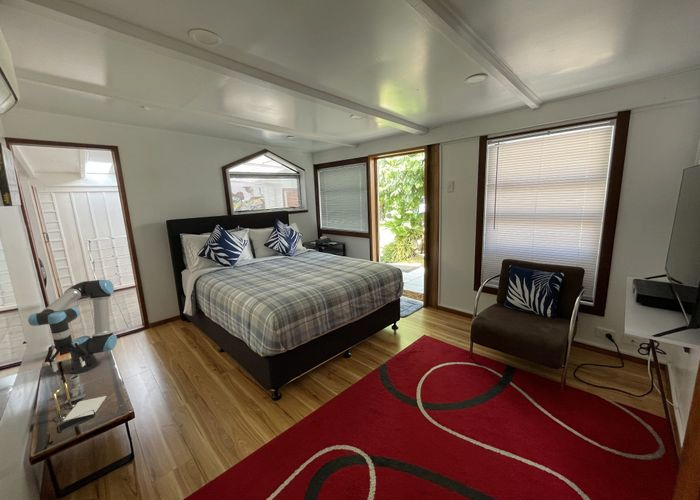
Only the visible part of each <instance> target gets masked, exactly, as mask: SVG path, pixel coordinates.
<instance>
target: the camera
mask: <svg viewBox="0 0 700 500" xmlns="http://www.w3.org/2000/svg"><path fill="white" fill-rule="evenodd" d="M69 382H70V383H71V388H70V390H69V395H70V399H71V402H73V401H77V400H79V399H80V400H81V399H82V398H83V399H84V397H85V396H86V395H87V393H84V390H85V387H84V384H83V383H82V382H80V375H79V374H76V375H72V376H70V377H69ZM65 404H69V403H68V399H65V401H64V405H65Z"/></svg>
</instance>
